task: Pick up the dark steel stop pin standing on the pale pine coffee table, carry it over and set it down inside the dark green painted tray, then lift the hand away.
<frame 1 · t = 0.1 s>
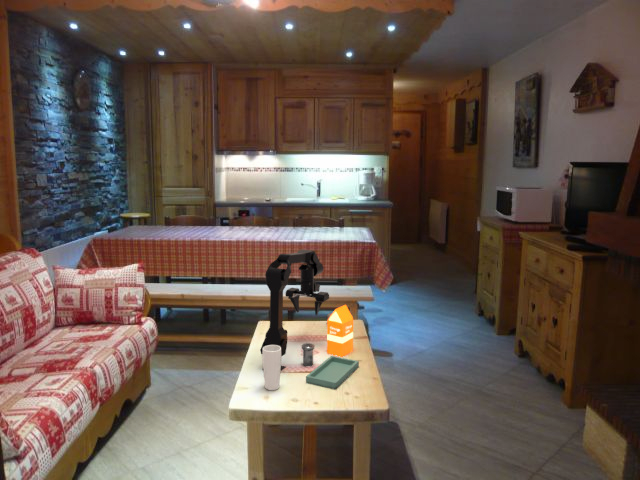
hand: (307, 313, 223), 15 cm above the table, fingers open, 9 cm apart
stop pin: (307, 364, 205), on the table
drinking glass: (272, 388, 185), on the table
tray: (333, 374, 196), on the table
orange juice: (339, 352, 218), on the table
rhino figurine: (332, 328, 249), on the table
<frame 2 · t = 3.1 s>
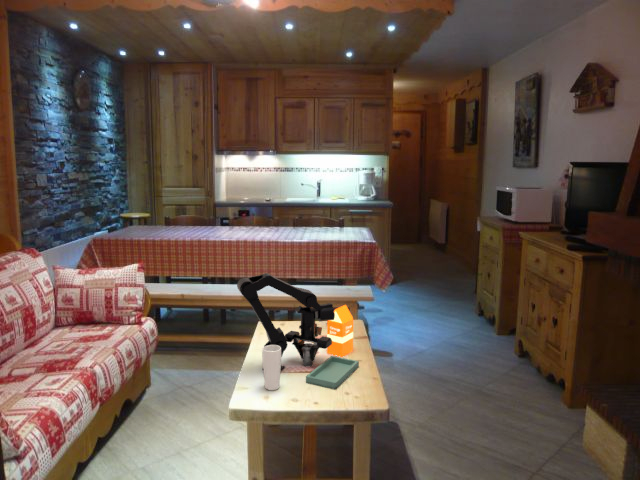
hand: (307, 359, 205), 2 cm above the table, fingers closed on stop pin, 4 cm apart
stop pin: (307, 364, 205), on the table, touching gripper
everything else where it was.
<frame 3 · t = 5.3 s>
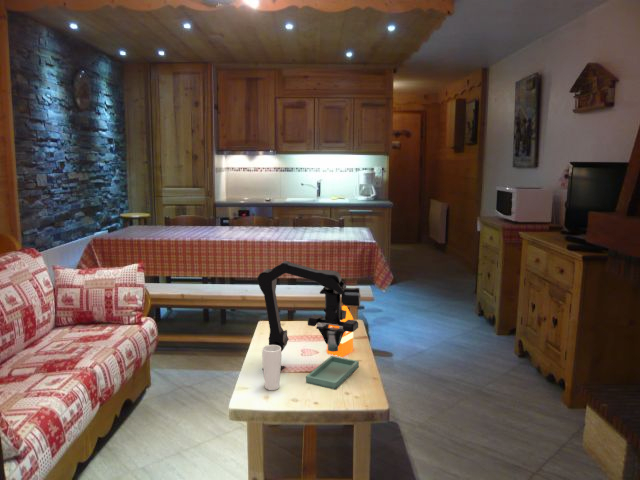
hand: (332, 344, 195), 12 cm above the table, fingers closed on stop pin, 4 cm apart
stop pin: (332, 349, 195), point 10 cm above the table, touching gripper
everything else where it was.
when the fingers open (4 cm above the table, at t = 7.5 s): stop pin drops 1 cm, resting on tray.
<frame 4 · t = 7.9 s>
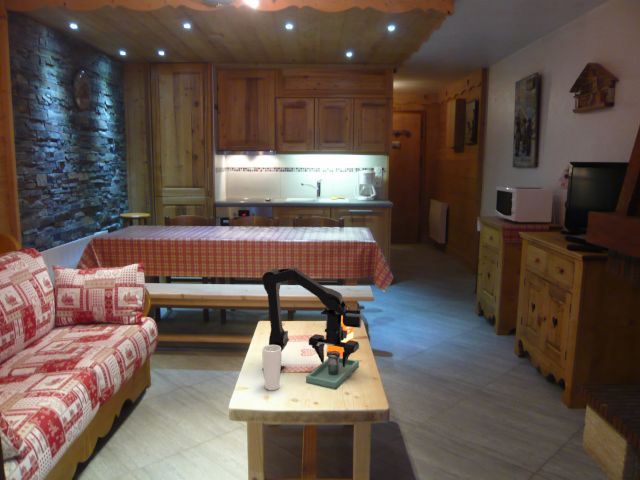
hand: (333, 364, 195), 4 cm above the table, fingers open, 9 cm apart
stop pin: (333, 373, 196), point 1 cm above the table, touching tray
everything else where it was.
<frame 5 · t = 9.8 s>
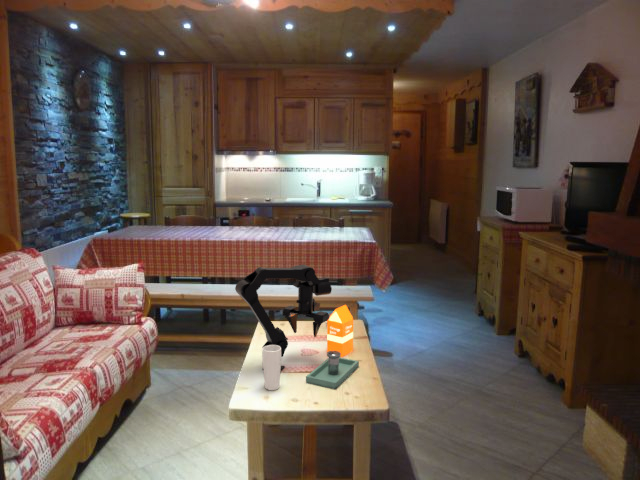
hand: (305, 334, 205), 12 cm above the table, fingers open, 9 cm apart
nothing on the table moved.
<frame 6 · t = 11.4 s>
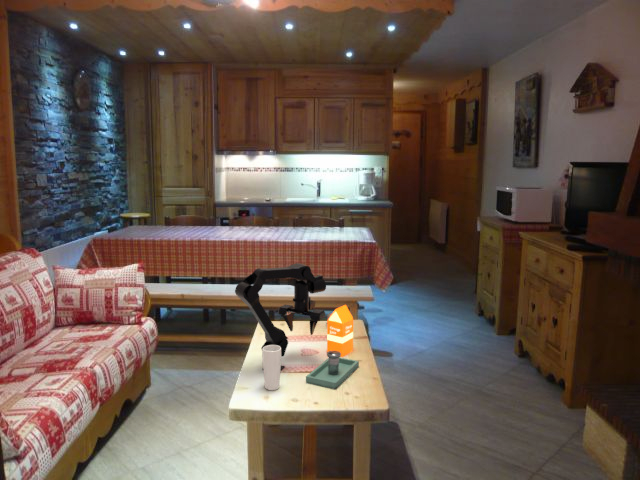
hand: (301, 332, 207), 12 cm above the table, fingers open, 9 cm apart
nothing on the table moved.
at the end: stop pin inside the target area on the tray (0.1 cm from its centre), point 0.6 cm above the tray's base; the gripper is holding nothing; stop pin tilted 1° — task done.
